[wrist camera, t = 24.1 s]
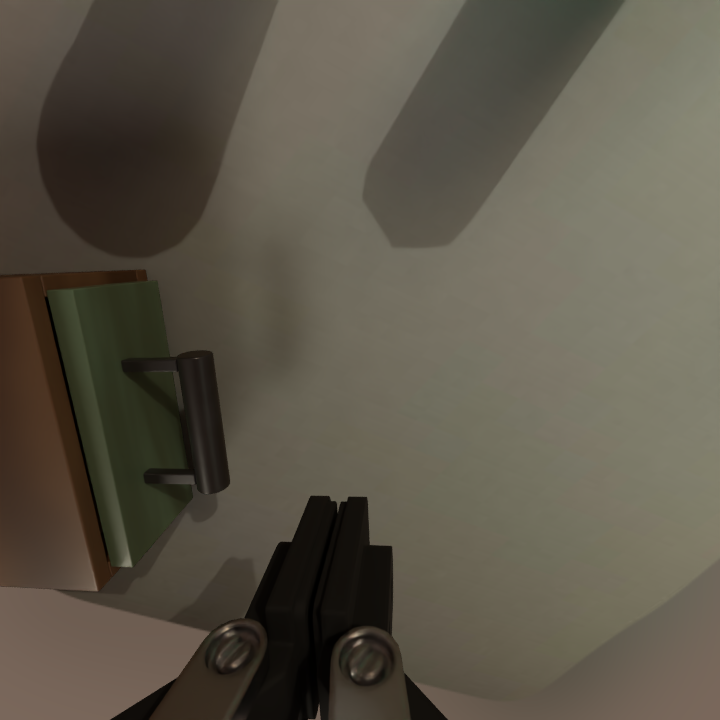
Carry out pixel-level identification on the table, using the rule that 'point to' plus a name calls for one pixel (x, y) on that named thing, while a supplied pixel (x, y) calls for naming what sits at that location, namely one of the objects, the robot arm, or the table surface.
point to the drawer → (136, 411)
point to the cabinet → (44, 447)
